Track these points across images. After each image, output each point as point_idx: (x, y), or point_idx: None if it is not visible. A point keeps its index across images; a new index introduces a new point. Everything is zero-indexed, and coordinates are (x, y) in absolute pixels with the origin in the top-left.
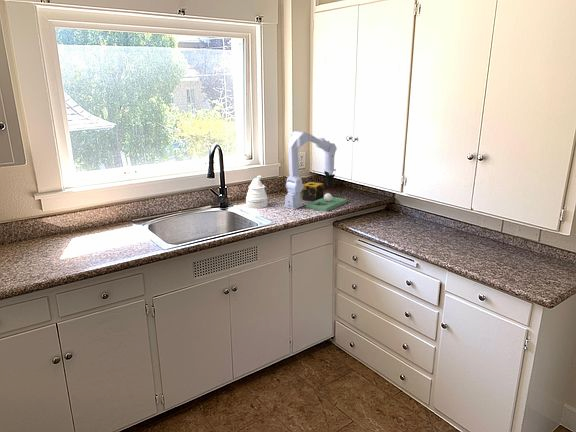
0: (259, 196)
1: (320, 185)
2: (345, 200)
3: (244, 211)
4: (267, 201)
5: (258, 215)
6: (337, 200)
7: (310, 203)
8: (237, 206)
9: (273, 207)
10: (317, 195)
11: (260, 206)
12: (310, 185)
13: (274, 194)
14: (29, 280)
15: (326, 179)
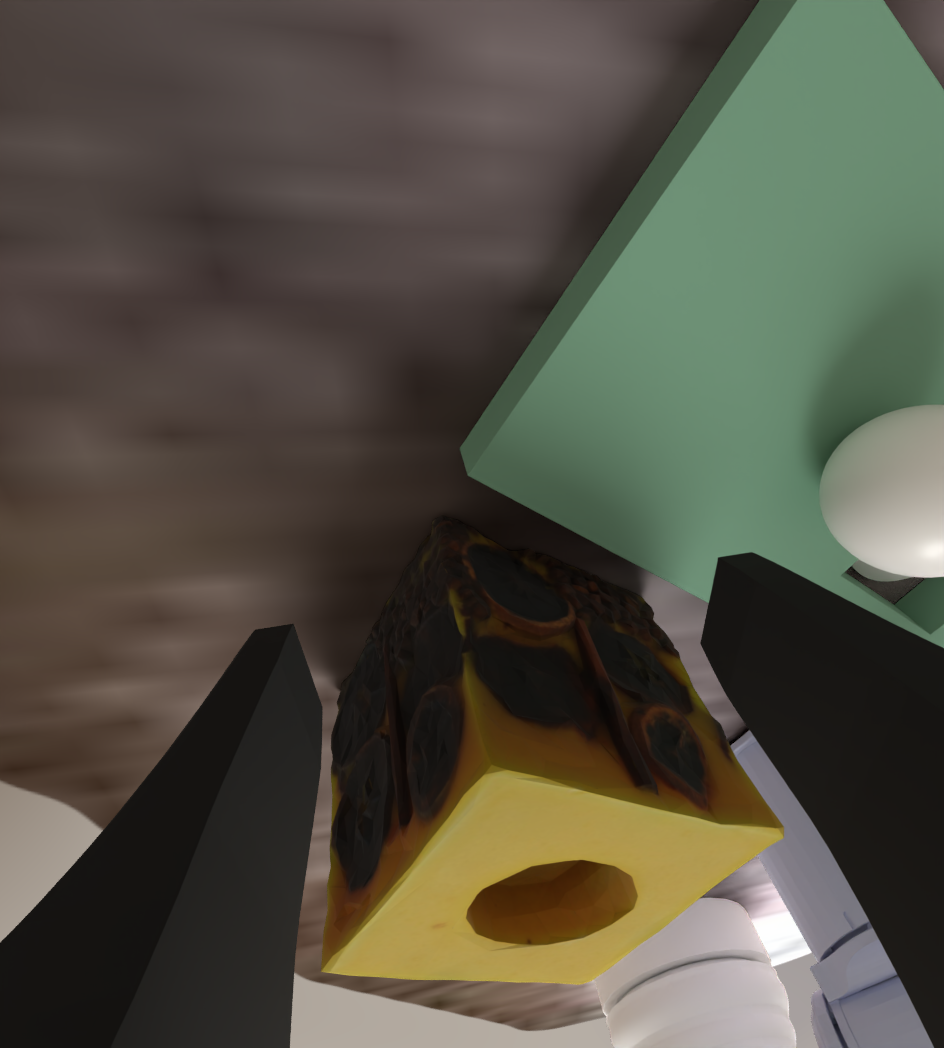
0: (794, 1031)
1: (606, 777)
2: (873, 9)
3: (798, 942)
4: (682, 937)
5: None
6: (866, 258)
7: None
8: None
9: (755, 862)
10: (631, 649)
11: (752, 924)
12: (655, 909)
13: (305, 950)
14: None
15: (308, 830)
